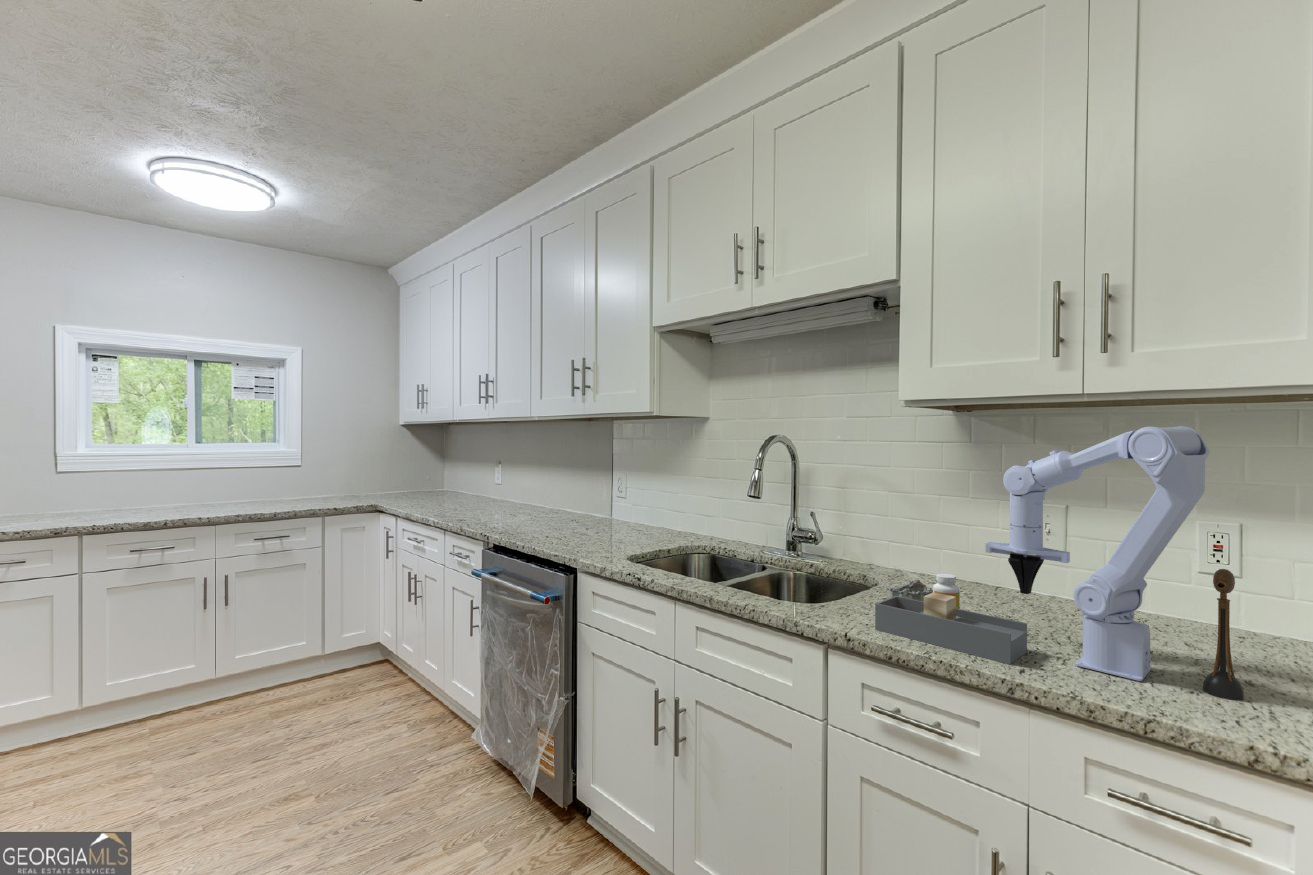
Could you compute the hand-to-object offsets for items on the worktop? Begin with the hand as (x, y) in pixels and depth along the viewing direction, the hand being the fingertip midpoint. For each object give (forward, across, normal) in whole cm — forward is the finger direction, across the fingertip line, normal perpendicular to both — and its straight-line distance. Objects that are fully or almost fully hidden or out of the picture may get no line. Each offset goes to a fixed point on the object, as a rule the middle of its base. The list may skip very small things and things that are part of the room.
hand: (1025, 592), depth 121 cm
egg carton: (+10, -28, +12) cm, 32 cm away
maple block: (+5, -12, -12) cm, 18 cm away
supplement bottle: (+10, -16, +2) cm, 19 cm away
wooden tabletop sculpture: (+10, +29, -6) cm, 31 cm away
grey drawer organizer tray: (+9, -11, -12) cm, 18 cm away
